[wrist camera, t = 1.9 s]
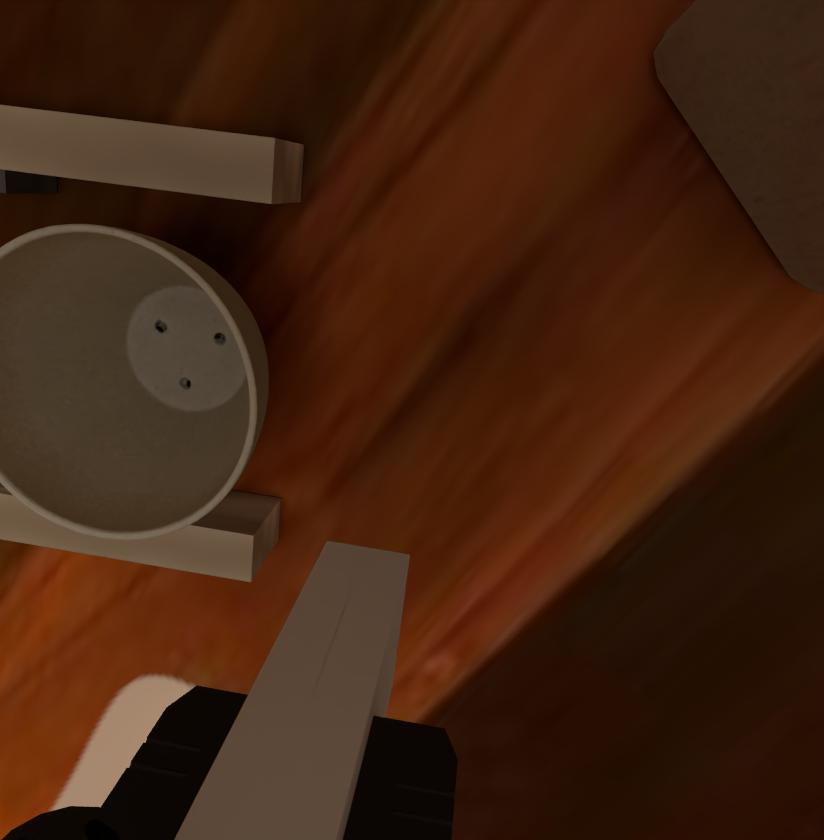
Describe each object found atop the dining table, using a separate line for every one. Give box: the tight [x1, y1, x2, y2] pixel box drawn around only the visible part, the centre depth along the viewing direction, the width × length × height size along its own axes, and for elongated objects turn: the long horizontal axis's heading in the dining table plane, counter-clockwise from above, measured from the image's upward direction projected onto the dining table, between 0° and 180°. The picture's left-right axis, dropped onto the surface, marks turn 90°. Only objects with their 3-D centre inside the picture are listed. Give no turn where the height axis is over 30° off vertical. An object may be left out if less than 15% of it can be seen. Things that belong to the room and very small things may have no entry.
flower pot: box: [0, 224, 269, 540], centre depth 25 cm, size 10×10×7 cm
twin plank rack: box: [0, 105, 304, 582], centre depth 28 cm, size 16×18×4 cm
